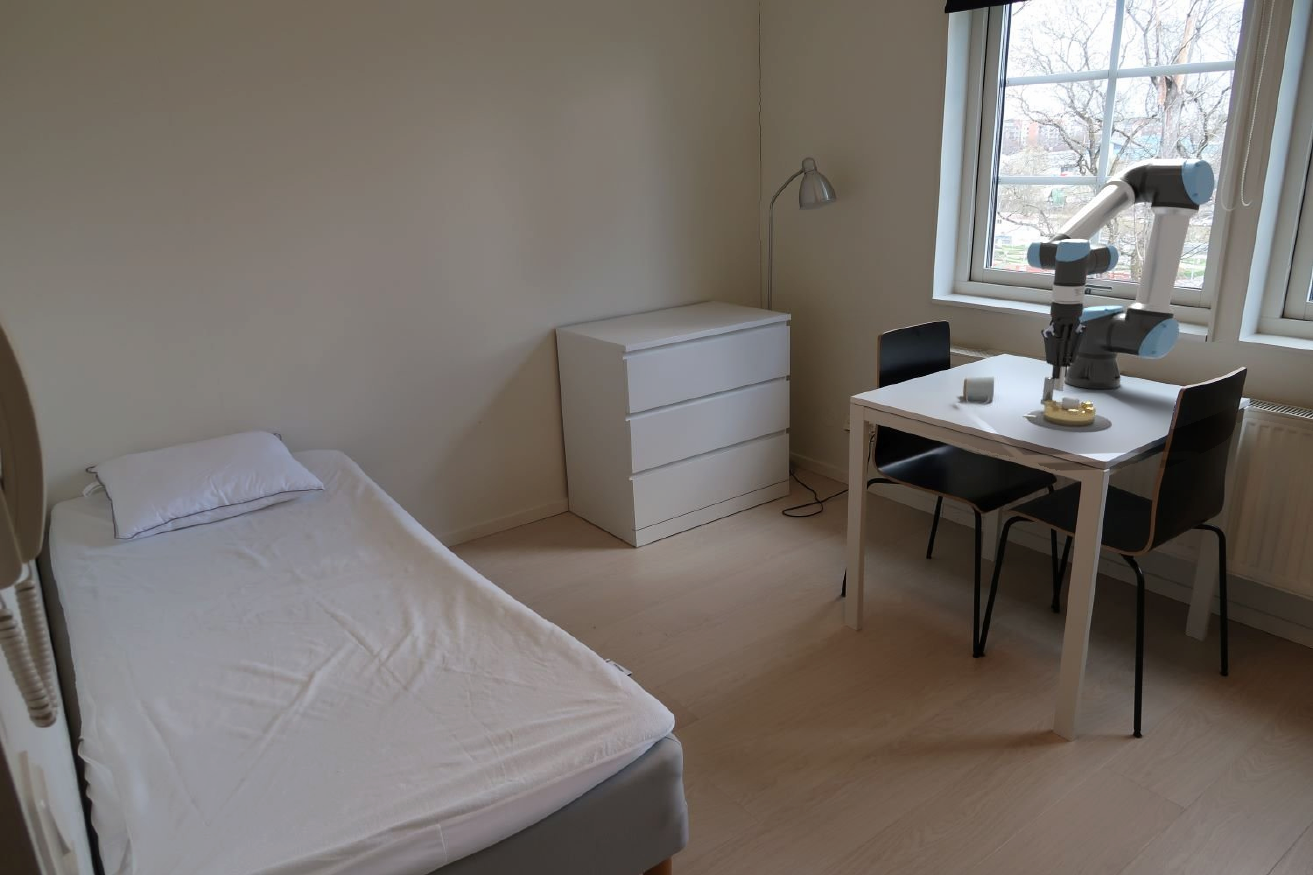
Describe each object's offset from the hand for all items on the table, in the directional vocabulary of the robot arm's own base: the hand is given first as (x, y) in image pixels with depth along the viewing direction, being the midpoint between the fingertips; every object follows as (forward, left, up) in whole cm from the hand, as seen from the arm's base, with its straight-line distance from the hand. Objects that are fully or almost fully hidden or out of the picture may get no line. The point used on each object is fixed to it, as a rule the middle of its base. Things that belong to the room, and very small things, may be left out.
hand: (1057, 389), depth 232 cm
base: (+1, +9, -7) cm, 12 cm away
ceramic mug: (+16, -13, -7) cm, 22 cm away
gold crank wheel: (+1, +7, -5) cm, 9 cm away
